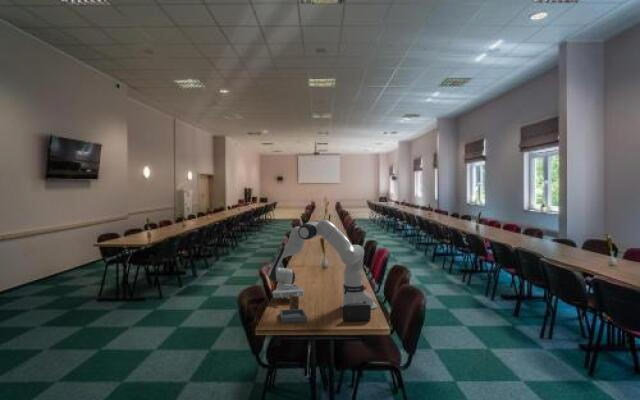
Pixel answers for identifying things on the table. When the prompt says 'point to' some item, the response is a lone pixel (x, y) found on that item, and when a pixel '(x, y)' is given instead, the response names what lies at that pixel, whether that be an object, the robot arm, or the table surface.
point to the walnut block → (294, 301)
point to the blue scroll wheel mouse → (356, 312)
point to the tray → (293, 316)
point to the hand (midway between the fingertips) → (290, 296)
